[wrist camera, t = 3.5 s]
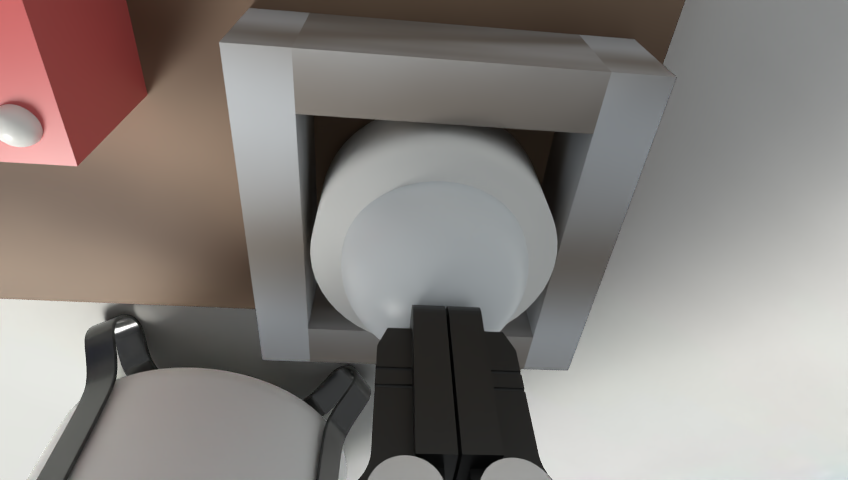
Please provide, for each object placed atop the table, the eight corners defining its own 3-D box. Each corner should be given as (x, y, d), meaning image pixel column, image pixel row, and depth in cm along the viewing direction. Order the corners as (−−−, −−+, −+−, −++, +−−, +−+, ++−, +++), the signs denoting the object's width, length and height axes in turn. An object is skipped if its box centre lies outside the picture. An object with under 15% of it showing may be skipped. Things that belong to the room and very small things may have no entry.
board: (-548, -741, 8) (-1163, -1112, 5) (831, -515, 10) (1039, -683, 7) (-18, 274, 20) (-97, 358, 17) (565, 300, 22) (593, 381, 18)
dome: (318, 97, 14) (284, 202, 10) (560, 114, 15) (621, 221, 11) (324, 283, 18) (301, 413, 14) (516, 292, 18) (547, 420, 14)
